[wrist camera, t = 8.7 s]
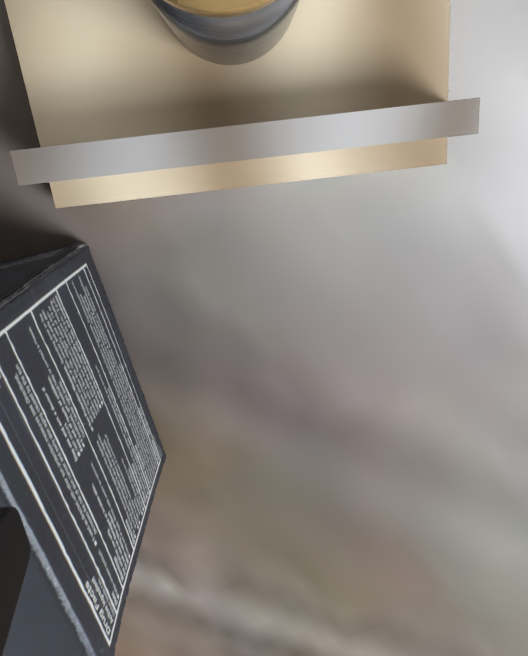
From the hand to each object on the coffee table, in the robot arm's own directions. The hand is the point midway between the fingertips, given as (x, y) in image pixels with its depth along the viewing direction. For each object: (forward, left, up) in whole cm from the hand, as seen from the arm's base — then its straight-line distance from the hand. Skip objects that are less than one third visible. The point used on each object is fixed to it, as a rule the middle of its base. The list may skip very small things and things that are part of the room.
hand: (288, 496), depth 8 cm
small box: (+9, +3, -13) cm, 16 cm away
